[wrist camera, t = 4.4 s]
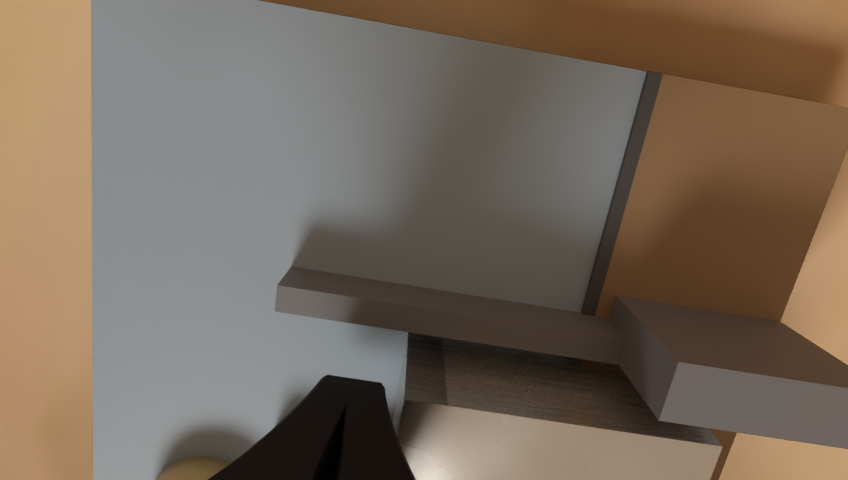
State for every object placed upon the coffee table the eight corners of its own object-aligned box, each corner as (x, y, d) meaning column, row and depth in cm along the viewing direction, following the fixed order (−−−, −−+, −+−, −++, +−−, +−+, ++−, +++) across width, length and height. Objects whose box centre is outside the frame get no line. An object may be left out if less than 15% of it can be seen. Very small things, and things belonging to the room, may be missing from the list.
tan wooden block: (389, 439, 13) (380, 531, 10) (408, 330, 12) (404, 399, 9) (623, 473, 13) (674, 571, 10) (657, 369, 12) (723, 446, 10)
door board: (117, 554, 16) (5, 724, 12) (124, -19, 11) (-52, -83, 7) (629, 620, 17) (700, 803, 12) (817, 108, 12) (1026, 117, 8)
